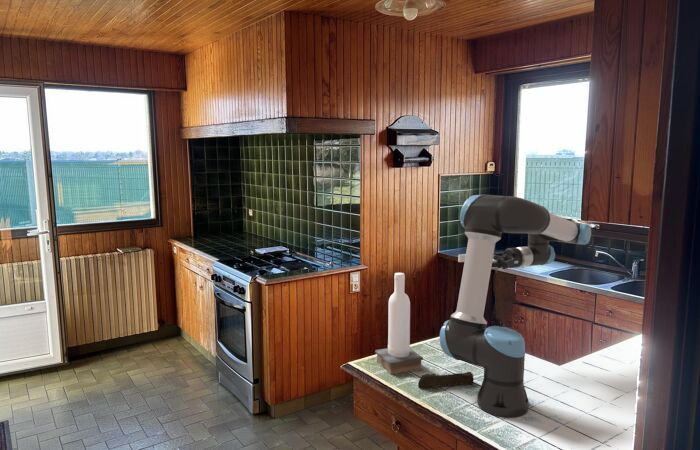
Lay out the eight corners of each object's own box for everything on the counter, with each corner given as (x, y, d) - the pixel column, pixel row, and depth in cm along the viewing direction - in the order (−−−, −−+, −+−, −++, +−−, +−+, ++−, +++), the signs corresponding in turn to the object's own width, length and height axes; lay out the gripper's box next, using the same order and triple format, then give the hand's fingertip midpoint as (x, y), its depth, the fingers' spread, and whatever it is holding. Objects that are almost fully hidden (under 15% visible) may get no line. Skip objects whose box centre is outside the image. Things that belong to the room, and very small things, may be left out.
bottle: (383, 353, 185) (383, 273, 181) (398, 347, 191) (398, 270, 187) (399, 359, 179) (400, 277, 175) (414, 354, 185) (415, 273, 181)
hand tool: (469, 380, 173) (469, 367, 172) (474, 385, 169) (474, 372, 169) (416, 385, 170) (416, 372, 169) (419, 390, 166) (419, 377, 165)
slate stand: (422, 369, 182) (423, 357, 181) (390, 375, 177) (390, 363, 177) (406, 356, 194) (406, 345, 193) (375, 361, 189) (375, 350, 189)
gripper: (540, 274, 179) (490, 279, 172) (496, 261, 203) (450, 265, 195) (541, 253, 178) (490, 257, 171) (496, 242, 202) (450, 246, 194)
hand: (469, 261), depth 183 cm, fingers open, 13 cm apart
